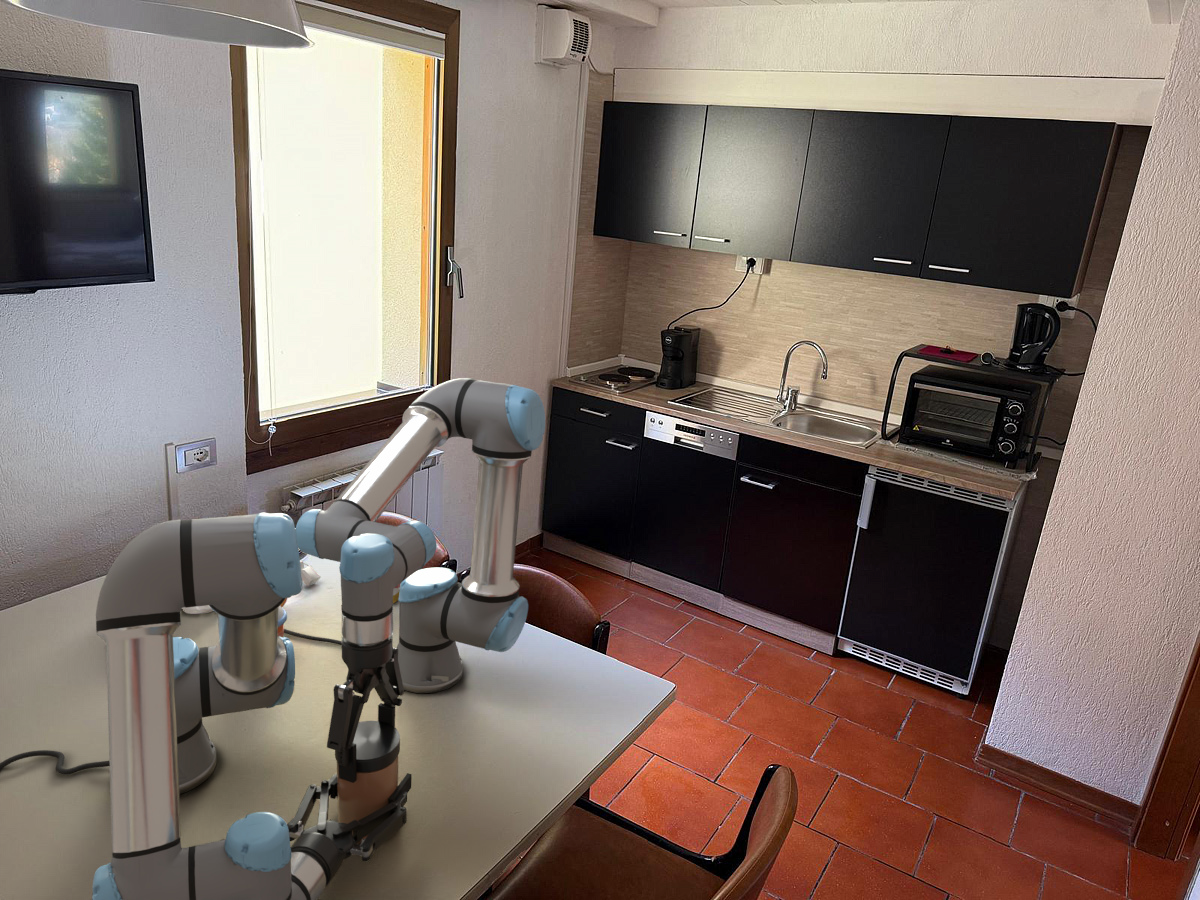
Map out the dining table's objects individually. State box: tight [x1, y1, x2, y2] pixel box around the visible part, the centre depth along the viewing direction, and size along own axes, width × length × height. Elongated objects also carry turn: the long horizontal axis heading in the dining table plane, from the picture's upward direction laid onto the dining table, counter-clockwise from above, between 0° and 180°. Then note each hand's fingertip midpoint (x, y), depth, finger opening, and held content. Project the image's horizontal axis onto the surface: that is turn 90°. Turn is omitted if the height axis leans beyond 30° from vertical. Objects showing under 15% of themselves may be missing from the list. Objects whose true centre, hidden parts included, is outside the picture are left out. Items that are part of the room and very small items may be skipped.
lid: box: [334, 720, 401, 772], centre depth 135 cm, size 10×10×2 cm
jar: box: [336, 756, 399, 844], centre depth 138 cm, size 10×10×15 cm
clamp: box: [300, 560, 322, 587], centre depth 219 cm, size 20×4×7 cm, turn 62°
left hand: (381, 773), depth 142 cm, fingers closed on jar, 9 cm apart
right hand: (367, 758), depth 136 cm, fingers closed on lid, 10 cm apart
